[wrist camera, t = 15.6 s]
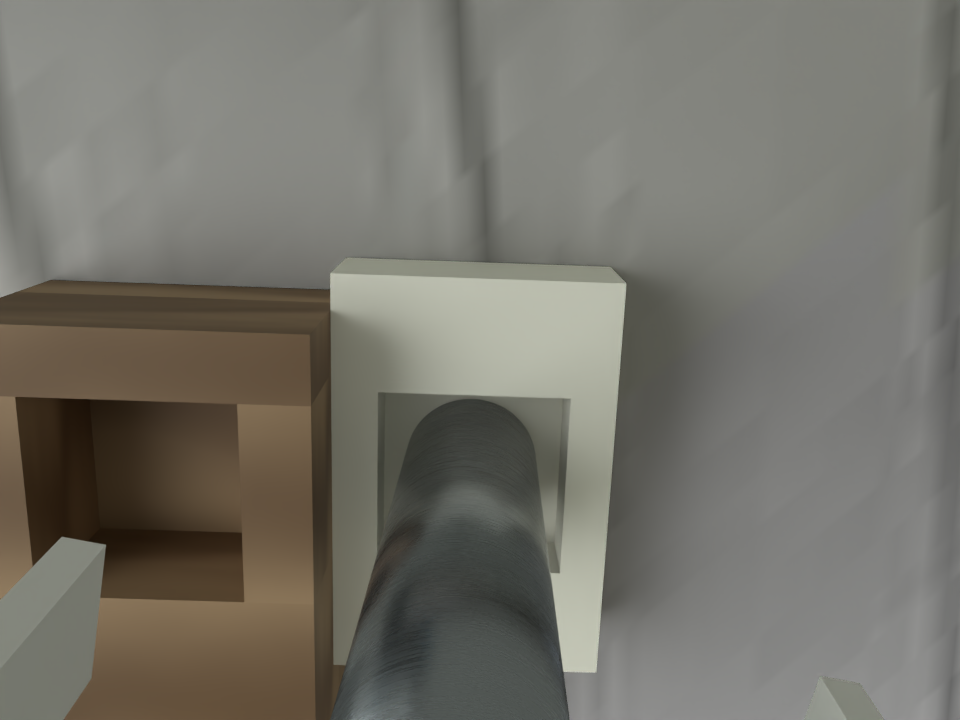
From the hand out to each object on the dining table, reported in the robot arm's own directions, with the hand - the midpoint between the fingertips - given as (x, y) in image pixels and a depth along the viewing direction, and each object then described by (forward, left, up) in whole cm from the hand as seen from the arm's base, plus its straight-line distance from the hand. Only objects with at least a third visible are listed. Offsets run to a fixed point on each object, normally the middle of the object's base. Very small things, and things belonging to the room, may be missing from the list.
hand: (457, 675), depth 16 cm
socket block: (+4, -8, -13) cm, 16 cm away
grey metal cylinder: (0, 0, -11) cm, 12 cm away
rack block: (0, 0, -13) cm, 13 cm away
